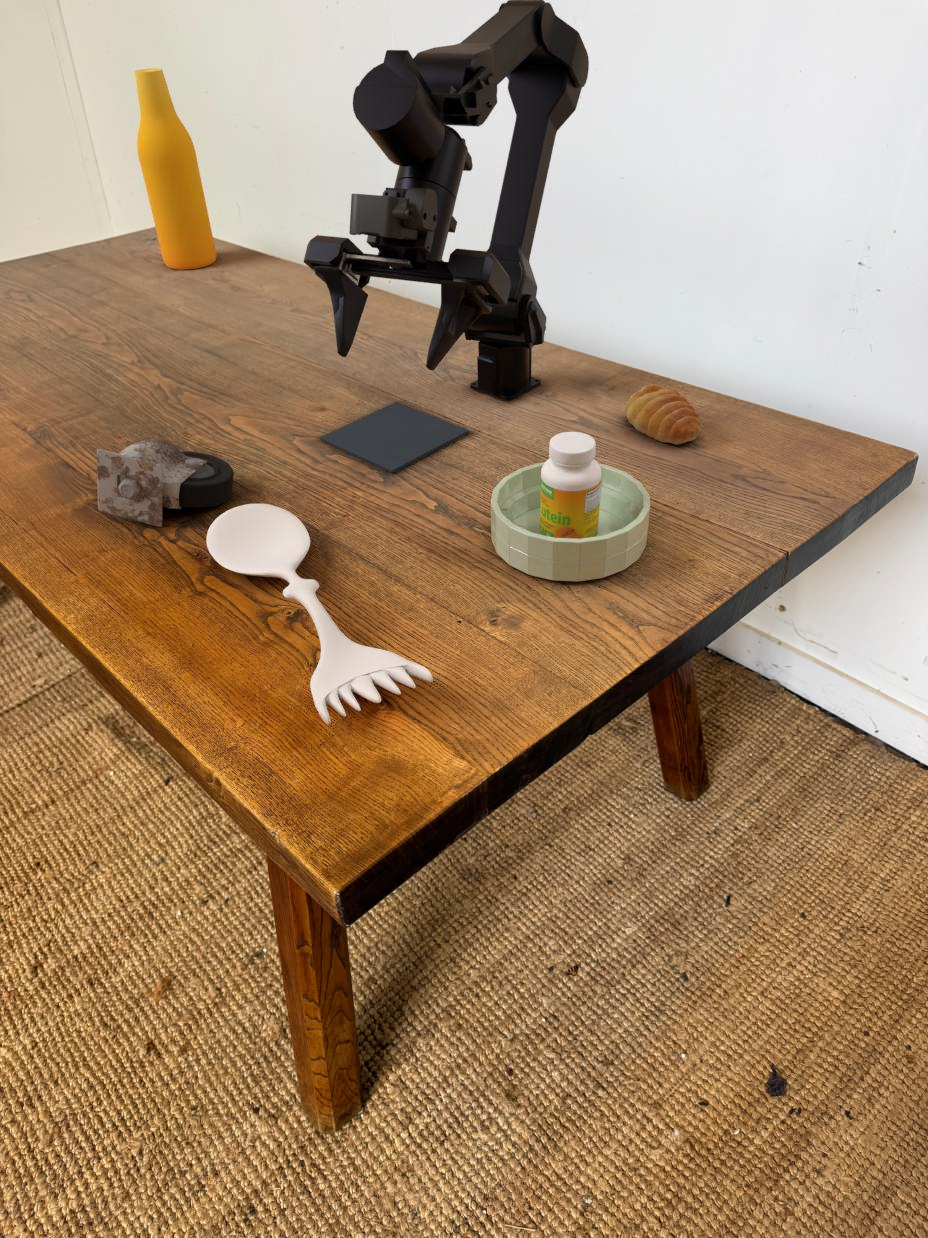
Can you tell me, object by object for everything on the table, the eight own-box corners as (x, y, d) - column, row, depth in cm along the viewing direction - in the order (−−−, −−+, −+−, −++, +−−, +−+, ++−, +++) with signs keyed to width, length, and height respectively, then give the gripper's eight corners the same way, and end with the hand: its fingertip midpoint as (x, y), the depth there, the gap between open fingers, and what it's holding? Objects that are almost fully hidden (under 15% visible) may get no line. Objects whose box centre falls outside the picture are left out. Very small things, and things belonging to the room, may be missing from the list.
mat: (396, 404, 107) (396, 401, 106) (469, 433, 100) (469, 429, 100) (320, 440, 100) (319, 437, 100) (392, 473, 93) (391, 470, 93)
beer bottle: (191, 273, 150) (147, 75, 132) (153, 266, 154) (104, 72, 136) (228, 257, 156) (191, 66, 138) (190, 251, 160) (149, 64, 142)
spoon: (328, 752, 62) (322, 718, 60) (197, 541, 84) (189, 511, 82) (440, 705, 66) (437, 670, 64) (286, 514, 88) (280, 483, 86)
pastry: (716, 439, 96) (720, 407, 94) (664, 454, 94) (668, 421, 92) (665, 406, 103) (668, 375, 101) (616, 420, 101) (618, 389, 99)
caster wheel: (243, 502, 95) (203, 542, 86) (143, 476, 95) (94, 513, 87) (247, 444, 91) (206, 479, 83) (144, 418, 92) (93, 449, 83)
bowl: (556, 485, 90) (557, 445, 87) (675, 534, 82) (680, 492, 79) (461, 544, 82) (459, 503, 79) (582, 605, 74) (585, 561, 72)
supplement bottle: (527, 539, 82) (528, 444, 76) (561, 514, 85) (565, 421, 79) (575, 559, 79) (580, 462, 73) (608, 533, 82) (616, 438, 76)
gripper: (292, 139, 76) (250, 317, 76) (491, 150, 69) (444, 344, 70) (352, 203, 86) (315, 359, 87) (530, 218, 80) (488, 386, 80)
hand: (384, 361), depth 81 cm, fingers open, 9 cm apart
